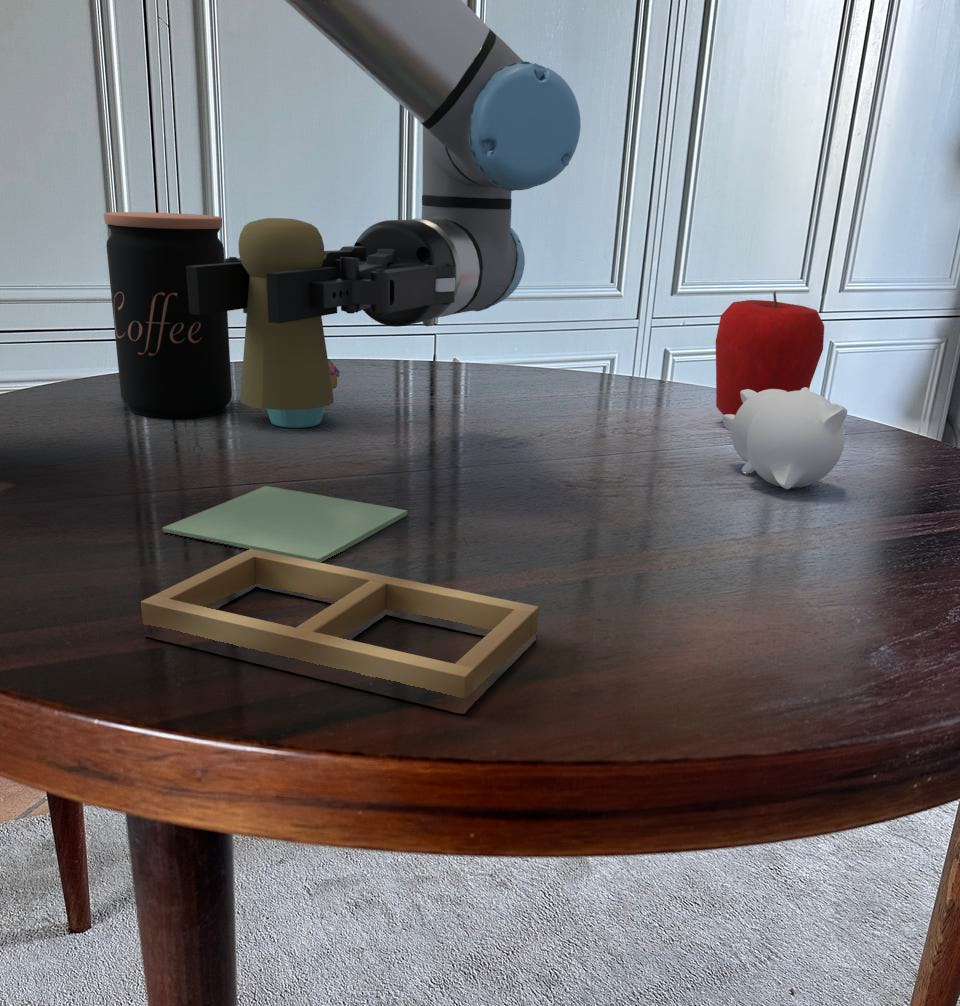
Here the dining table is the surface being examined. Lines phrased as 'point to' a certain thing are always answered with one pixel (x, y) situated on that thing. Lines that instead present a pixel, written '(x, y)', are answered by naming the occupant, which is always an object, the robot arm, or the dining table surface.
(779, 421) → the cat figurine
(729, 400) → the apple
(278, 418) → the cupcake
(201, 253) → the coffee jar
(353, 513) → the mat
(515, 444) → the dining table surface
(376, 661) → the stand
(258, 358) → the cork
